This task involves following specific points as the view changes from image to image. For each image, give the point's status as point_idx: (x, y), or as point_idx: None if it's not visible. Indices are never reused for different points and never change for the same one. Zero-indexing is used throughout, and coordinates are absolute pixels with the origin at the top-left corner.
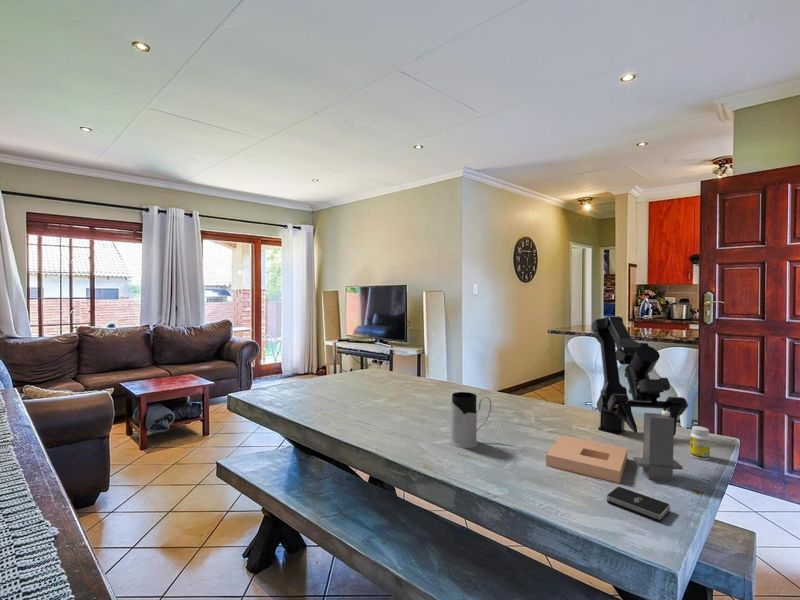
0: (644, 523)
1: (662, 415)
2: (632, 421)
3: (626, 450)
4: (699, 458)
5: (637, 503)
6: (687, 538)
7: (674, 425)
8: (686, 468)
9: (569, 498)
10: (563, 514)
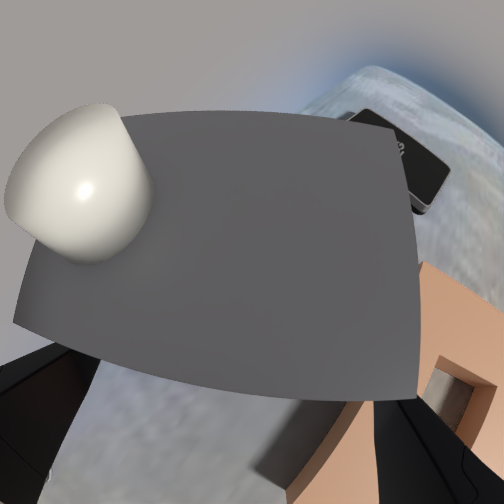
0: (388, 119)
1: (146, 188)
2: (436, 429)
3: (307, 487)
4: None
5: (398, 138)
6: (333, 90)
7: (42, 355)
8: (105, 404)
9: (495, 196)
10: (491, 153)
